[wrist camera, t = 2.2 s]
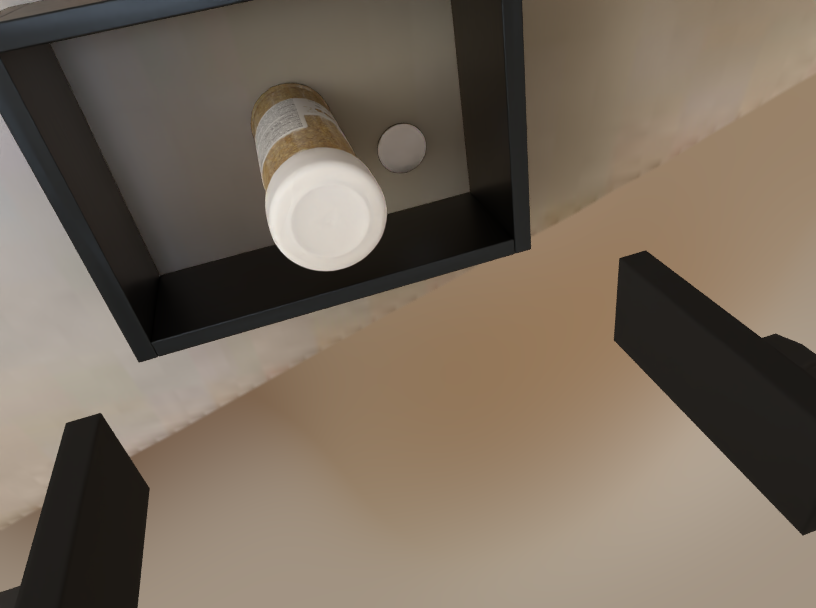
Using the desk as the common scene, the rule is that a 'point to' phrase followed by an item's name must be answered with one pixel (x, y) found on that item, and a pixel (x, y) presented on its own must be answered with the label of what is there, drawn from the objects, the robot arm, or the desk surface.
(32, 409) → the desk surface
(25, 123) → the black open box
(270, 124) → the sprinkles bottle
